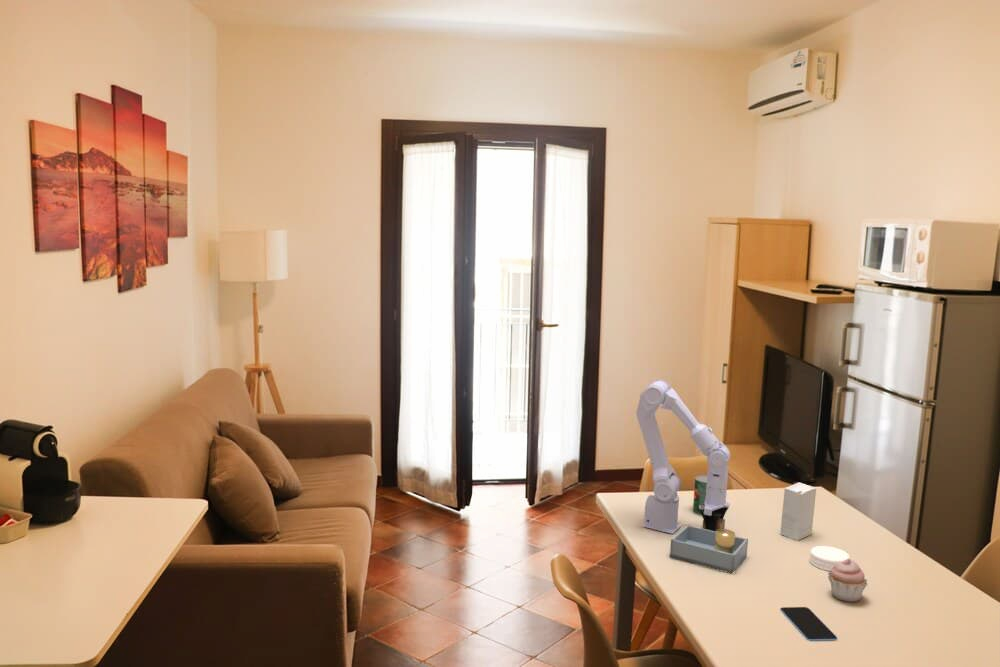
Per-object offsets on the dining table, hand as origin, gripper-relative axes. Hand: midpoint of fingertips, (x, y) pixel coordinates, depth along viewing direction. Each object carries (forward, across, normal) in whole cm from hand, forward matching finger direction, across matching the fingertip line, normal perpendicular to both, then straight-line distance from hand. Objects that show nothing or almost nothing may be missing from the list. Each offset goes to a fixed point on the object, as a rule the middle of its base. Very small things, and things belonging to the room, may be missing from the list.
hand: (713, 531), depth 233 cm
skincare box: (+2, +16, -20) cm, 26 cm away
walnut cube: (+1, 0, 0) cm, 1 cm away
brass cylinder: (0, -15, -8) cm, 17 cm away
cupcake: (+2, -18, -39) cm, 43 cm away
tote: (+1, -15, -4) cm, 16 cm away
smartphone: (+2, -38, -34) cm, 51 cm away
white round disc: (+2, 0, -32) cm, 32 cm away
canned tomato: (+2, +18, +8) cm, 20 cm away
